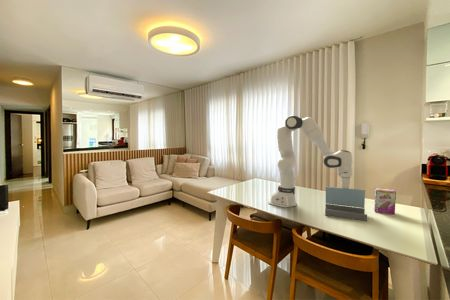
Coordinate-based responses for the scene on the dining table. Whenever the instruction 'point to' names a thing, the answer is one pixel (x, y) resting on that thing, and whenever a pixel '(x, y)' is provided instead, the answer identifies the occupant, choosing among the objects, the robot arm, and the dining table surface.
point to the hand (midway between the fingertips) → (344, 191)
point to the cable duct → (346, 212)
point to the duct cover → (345, 197)
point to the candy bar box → (385, 201)
